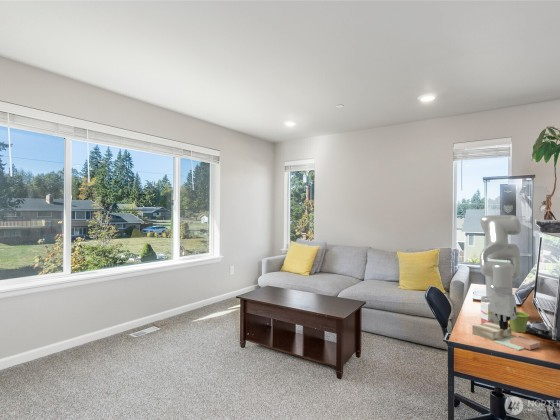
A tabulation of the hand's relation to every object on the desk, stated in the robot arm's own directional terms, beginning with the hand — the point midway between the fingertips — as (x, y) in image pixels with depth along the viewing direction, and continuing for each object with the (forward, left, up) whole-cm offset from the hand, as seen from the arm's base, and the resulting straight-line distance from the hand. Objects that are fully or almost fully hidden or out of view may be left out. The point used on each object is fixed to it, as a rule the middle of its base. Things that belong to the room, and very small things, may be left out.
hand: (503, 328), depth 147 cm
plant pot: (-18, -4, -5) cm, 19 cm away
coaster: (0, +9, -2) cm, 9 cm away
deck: (0, -6, -5) cm, 7 cm away
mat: (0, +5, -5) cm, 7 cm away
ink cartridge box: (-16, -16, -5) cm, 23 cm away
